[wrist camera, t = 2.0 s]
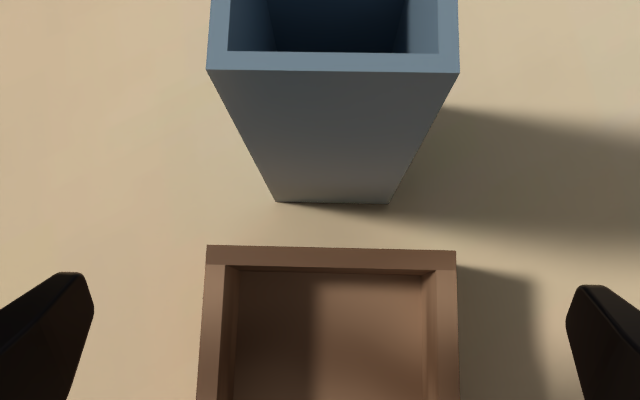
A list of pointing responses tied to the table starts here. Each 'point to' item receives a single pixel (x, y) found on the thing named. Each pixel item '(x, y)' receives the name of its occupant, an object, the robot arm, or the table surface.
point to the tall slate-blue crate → (333, 89)
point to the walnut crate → (328, 324)
